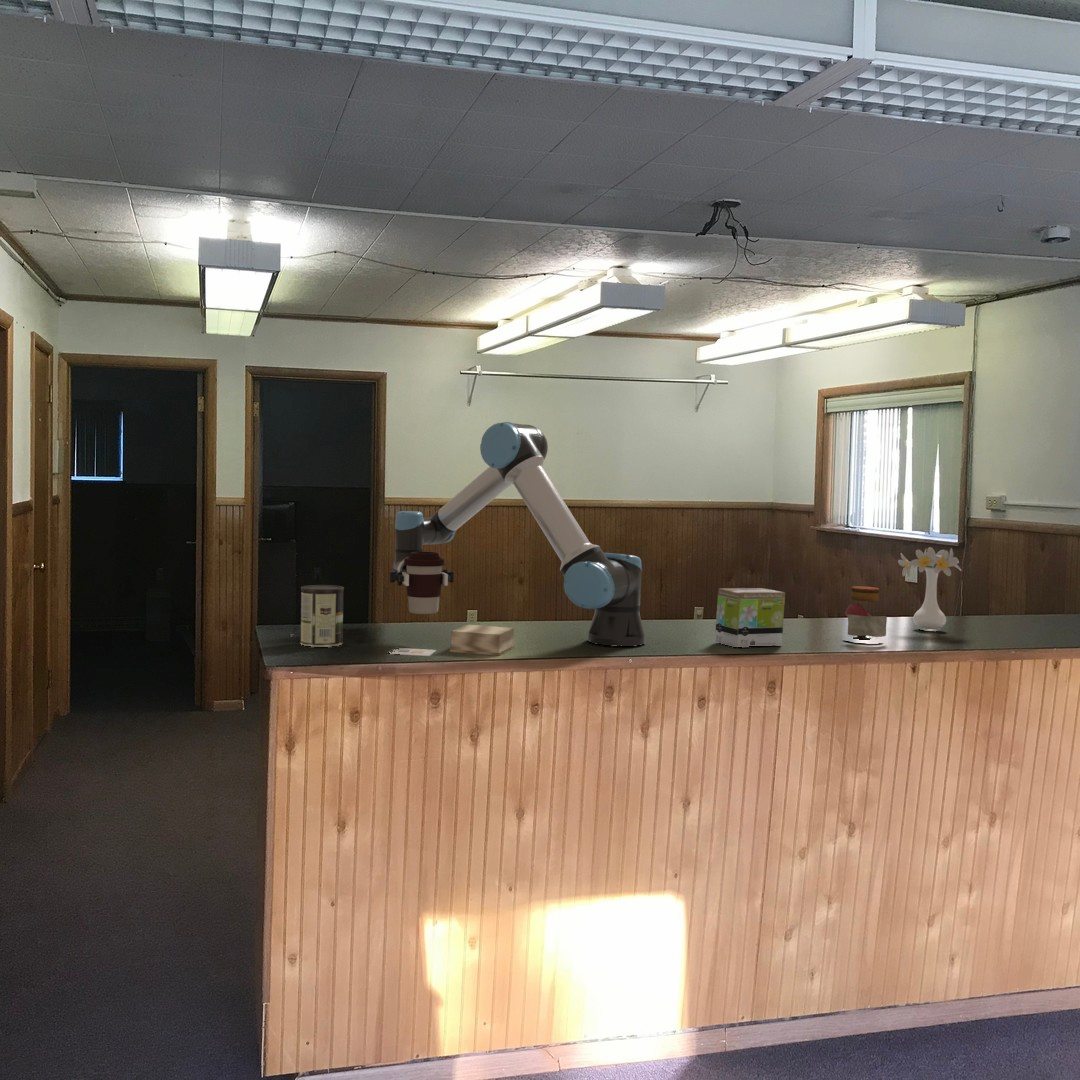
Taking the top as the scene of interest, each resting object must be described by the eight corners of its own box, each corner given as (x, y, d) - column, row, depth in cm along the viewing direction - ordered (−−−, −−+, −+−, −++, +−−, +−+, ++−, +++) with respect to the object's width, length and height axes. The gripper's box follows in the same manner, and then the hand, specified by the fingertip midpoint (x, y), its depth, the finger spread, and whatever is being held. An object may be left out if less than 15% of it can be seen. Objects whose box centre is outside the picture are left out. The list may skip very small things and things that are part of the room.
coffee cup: (426, 616, 262) (427, 554, 261) (395, 612, 267) (396, 552, 266) (451, 612, 270) (452, 552, 269) (420, 609, 275) (421, 550, 274)
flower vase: (888, 627, 327) (892, 545, 325) (941, 627, 332) (946, 546, 330) (913, 634, 314) (918, 548, 313) (968, 633, 319) (973, 549, 317)
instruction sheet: (436, 650, 259) (436, 649, 259) (428, 656, 251) (428, 655, 251) (395, 648, 260) (395, 647, 260) (386, 654, 252) (386, 652, 252)
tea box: (737, 649, 277) (740, 592, 276) (713, 643, 285) (716, 587, 285) (783, 646, 284) (786, 590, 283) (759, 640, 292) (761, 586, 291)
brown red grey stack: (829, 638, 300) (832, 585, 299) (869, 638, 304) (872, 585, 303) (851, 645, 289) (854, 590, 288) (893, 645, 292) (896, 590, 291)
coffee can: (326, 639, 270) (327, 583, 269) (351, 645, 263) (352, 587, 262) (291, 643, 262) (292, 586, 262) (316, 649, 256) (317, 590, 255)
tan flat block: (514, 647, 267) (514, 627, 267) (499, 655, 255) (499, 634, 255) (466, 644, 270) (467, 624, 270) (449, 651, 258) (450, 631, 258)
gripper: (453, 585, 288) (470, 595, 266) (372, 586, 283) (382, 595, 261) (454, 557, 288) (470, 564, 266) (372, 557, 282) (382, 564, 260)
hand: (426, 580), depth 263 cm, fingers closed on coffee cup, 9 cm apart
